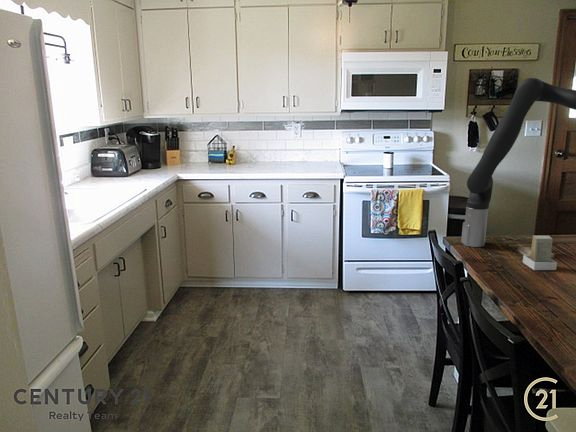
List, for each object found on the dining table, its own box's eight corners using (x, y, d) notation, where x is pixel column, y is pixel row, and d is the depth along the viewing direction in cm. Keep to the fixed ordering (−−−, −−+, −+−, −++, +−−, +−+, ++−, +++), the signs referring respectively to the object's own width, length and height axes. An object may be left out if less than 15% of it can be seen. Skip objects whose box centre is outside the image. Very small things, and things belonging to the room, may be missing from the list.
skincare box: (545, 264, 195) (549, 235, 192) (549, 268, 191) (554, 238, 188) (528, 263, 196) (532, 234, 193) (532, 267, 192) (536, 238, 189)
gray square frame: (533, 270, 189) (534, 262, 189) (522, 262, 198) (523, 255, 197) (556, 269, 190) (557, 262, 189) (543, 261, 198) (544, 255, 197)
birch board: (528, 257, 203) (528, 254, 202) (517, 250, 212) (517, 247, 211) (553, 257, 203) (554, 254, 203) (542, 250, 212) (542, 247, 212)
